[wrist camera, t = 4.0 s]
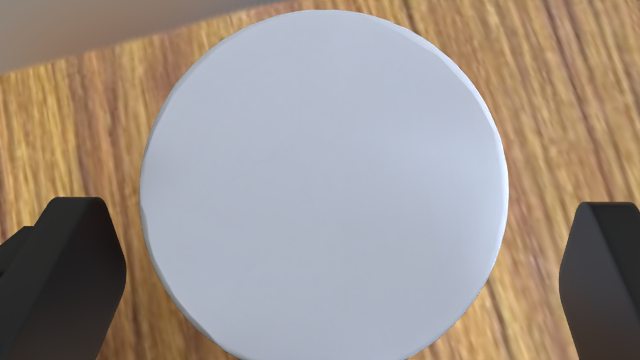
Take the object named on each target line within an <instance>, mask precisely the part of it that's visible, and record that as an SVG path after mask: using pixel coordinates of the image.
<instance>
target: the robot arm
mask: <svg viewBox="0 0 640 360" xmlns="http://www.w3.org/2000/svg"><path fill="white" fill-rule="evenodd" d="M125 284H126V262H125V258H124V255H123V252H122V249H121V246H120V243H119V240H118V237H117V234H116V231H115V229H114V226H113V223H112V220H111V217H110V214H109V211H108V208H107V206H106V204H105V202H104V201H103V199H101V198H99V197H55V198H53V199H52V200H51V201H50V202H49V203H48V205H47V206H46V208H45V210H44V211H43V213H42V214H41V216H40V217H39V219H38V220H37V222H36V224H35V225H34V226H24V227H23V228H21V229H20V230H19V231H18V232H16V233H15V234H14V235H13V236H11V237H10V238H9V239H8V240H7V241H5V242H4V243H3V244H2V245H0V360H96V357H97V355H98V353H99V350H100V348H101V345H102V343H103V341H104V338H105V336H106V333H107V331H108V329H109V326H110V324H111V321H112V319H113V317H114V314H115V312H116V309H117V307H118V305H119V302H120V300H121V297H122V295H123V292H124V288H125ZM559 292H560V299H561V303H562V306H563V310H564V313H565V316H566V319H567V322H568V325H569V328H570V331H571V335H572V338H573V341H574V344H575V347H576V350H577V353H578V356H579V360H640V212H639V210H638V208H637V207H636V206H635V204H633V203H631V202H582V203H580V205H579V206H578V208H577V210H576V213H575V217H574V220H573V224H572V227H571V231H570V234H569V238H568V241H567V245H566V248H565V252H564V255H563V259H562V262H561V266H560V271H559Z"/></svg>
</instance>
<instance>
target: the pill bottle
mask: <svg viewBox="0 0 640 360" xmlns="http://www.w3.org/2000/svg"><path fill="white" fill-rule="evenodd" d="M508 199H509V189H508V171H507V166H506V161H505V156H504V152H503V147H502V143H501V139H500V136H499V133H498V130H497V128H496V125H495V123H494V121H493V119H492V116H491V114H490V112H489V110H488V108H487V106H486V104H485V102H484V101H483V99H482V97H481V96H480V94H479V93H478V91H477V89H476V88H475V86H474V85H473V84H472V82H471V81H470V80H469V78H468V77H467V76H466V75H465V74H464V73H463V72H462V71H461V69H460V68H459V67H458V66H457V65H456V64H455V63H454V62H453V61H452V60H451V59H450V58H449V57H447V56H446V55H445V54H444V53H442V52H441V51H440V50H439V49H438V48H436V47H435V46H434V45H433V44H432V43H430V42H429V41H427V40H425V39H424V38H422V37H420V36H419V35H417V34H415V33H414V32H412V31H410V30H409V29H407V28H405V27H402V26H399V25H397V24H394V23H392V22H390V21H388V20H385V19H381V18H378V17H375V16H372V15H367V14H362V13H358V12H352V11H343V10H304V11H297V12H290V13H286V14H283V15H277V16H274V17H271V18H268V19H264V20H262V21H259V22H257V23H254V24H252V25H249V26H247V27H245V28H243V29H241V30H239V31H237V32H235V33H234V34H232V35H230V36H228V37H226V38H224V39H223V40H222V41H220V42H219V43H218V44H216V45H215V46H214V47H212V48H211V49H210V50H208V51H207V52H206V53H205V54H204V55H202V56H201V57H200V58H199V59H198V60H197V61H196V62H195V63H194V64H193V65H192V66H191V67H190V68H189V69H188V70H187V71H186V72H185V73H184V74H183V76H182V77H181V78H180V79H179V80H178V82H177V83H176V84H175V85H174V86H173V88H172V90H171V92H170V93H169V95H168V97H167V99H166V100H165V102H164V103H163V105H162V106H161V108H160V110H159V113H158V115H157V117H156V119H155V121H154V124H153V126H152V129H151V131H150V134H149V137H148V140H147V144H146V147H145V151H144V155H143V159H142V164H141V173H140V184H139V209H140V219H141V225H142V231H143V236H144V240H145V245H146V248H147V250H148V253H149V256H150V259H151V261H152V264H153V267H154V269H155V271H156V273H157V275H158V277H159V279H160V281H161V283H162V285H163V287H164V289H165V290H166V292H167V293H168V295H169V297H170V298H171V300H172V301H173V303H174V304H175V305H176V307H177V308H178V309H179V310H180V312H181V313H182V314H183V315H184V316H185V318H186V319H187V320H188V321H189V322H190V323H191V324H192V325H193V326H194V327H195V328H196V329H197V330H198V331H199V332H200V333H201V334H203V335H204V336H205V337H207V338H208V339H209V340H211V341H212V342H213V343H215V344H216V345H218V346H219V347H220V348H222V349H223V350H224V351H226V352H227V353H229V354H231V355H233V356H235V357H237V358H239V359H241V360H405V359H407V358H409V357H411V356H413V355H415V354H416V353H418V352H420V351H422V350H423V349H425V348H426V347H428V346H429V345H431V344H432V343H434V342H435V341H437V340H438V339H439V338H440V337H441V336H442V335H443V334H444V333H445V332H447V331H448V330H449V329H450V328H451V327H452V326H453V325H454V324H455V323H456V322H457V321H458V320H459V319H460V318H461V317H462V316H463V314H464V313H465V312H466V311H467V309H468V308H469V307H470V305H471V304H472V303H473V301H474V300H475V299H476V297H477V296H478V294H479V293H480V291H481V289H482V288H483V286H484V284H485V283H486V281H487V279H488V277H489V275H490V272H491V270H492V268H493V266H494V264H495V262H496V258H497V255H498V252H499V249H500V246H501V243H502V239H503V234H504V230H505V226H506V220H507V211H508Z"/></svg>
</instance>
